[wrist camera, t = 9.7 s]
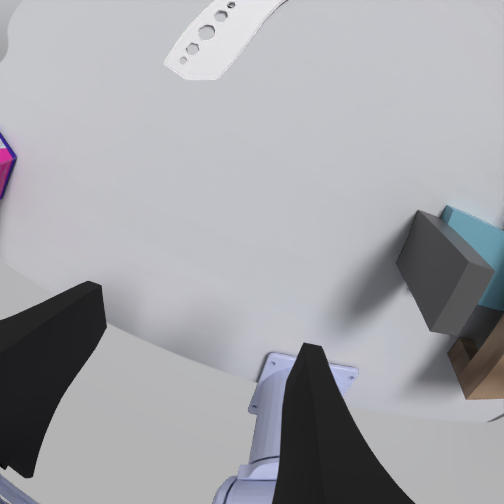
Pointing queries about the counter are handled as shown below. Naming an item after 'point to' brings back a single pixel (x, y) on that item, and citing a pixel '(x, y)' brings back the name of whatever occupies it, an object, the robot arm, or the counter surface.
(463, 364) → the low wooden stool
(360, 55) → the counter surface
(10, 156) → the supplement box
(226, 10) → the knife
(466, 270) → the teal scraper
